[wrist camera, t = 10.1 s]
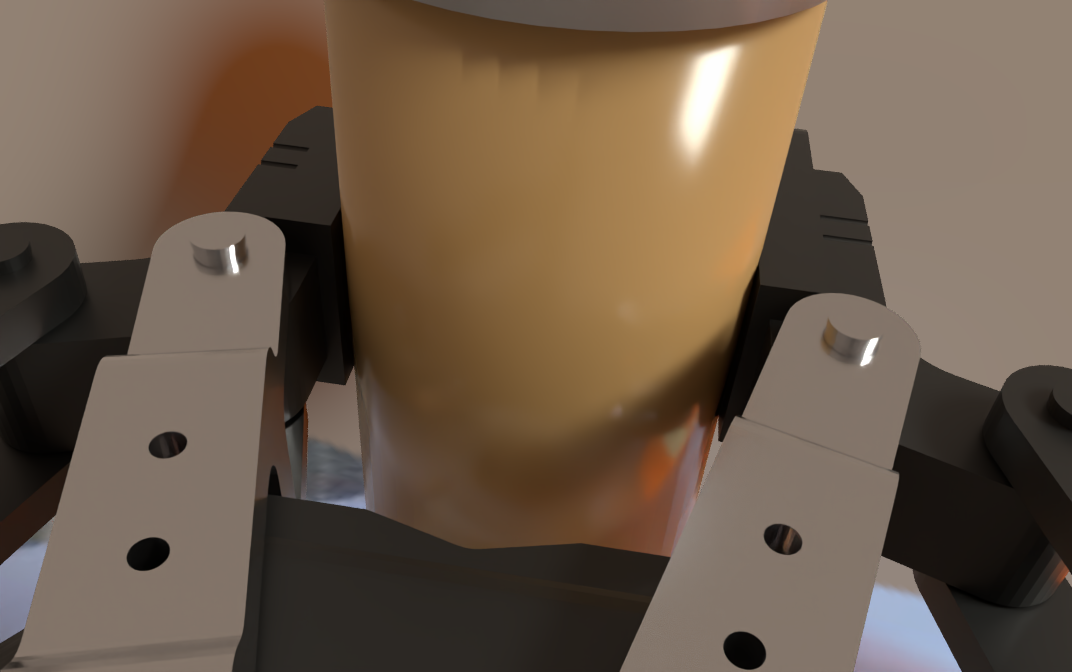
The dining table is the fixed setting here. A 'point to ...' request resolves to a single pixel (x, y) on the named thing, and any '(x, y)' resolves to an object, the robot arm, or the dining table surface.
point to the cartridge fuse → (554, 250)
